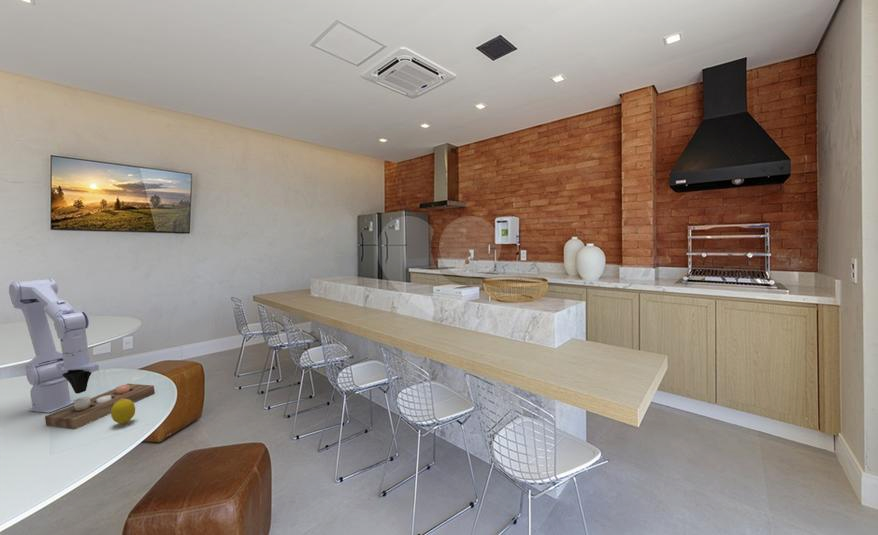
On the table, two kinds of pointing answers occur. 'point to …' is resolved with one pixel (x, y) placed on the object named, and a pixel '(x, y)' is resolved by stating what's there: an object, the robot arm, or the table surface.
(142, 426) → the table surface
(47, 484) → the table surface
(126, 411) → the lemon
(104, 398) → the grey plug middle
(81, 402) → the grey plug right
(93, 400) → the walnut board
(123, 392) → the terracotta plug
